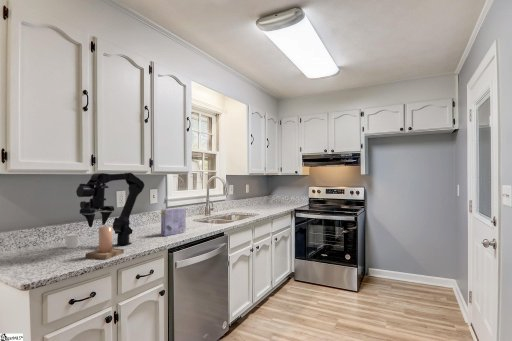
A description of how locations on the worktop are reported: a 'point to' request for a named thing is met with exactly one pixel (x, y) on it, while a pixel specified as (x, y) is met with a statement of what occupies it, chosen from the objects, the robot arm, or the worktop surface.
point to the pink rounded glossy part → (105, 239)
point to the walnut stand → (104, 254)
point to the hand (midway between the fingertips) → (97, 225)
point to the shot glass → (72, 240)
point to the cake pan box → (173, 221)
